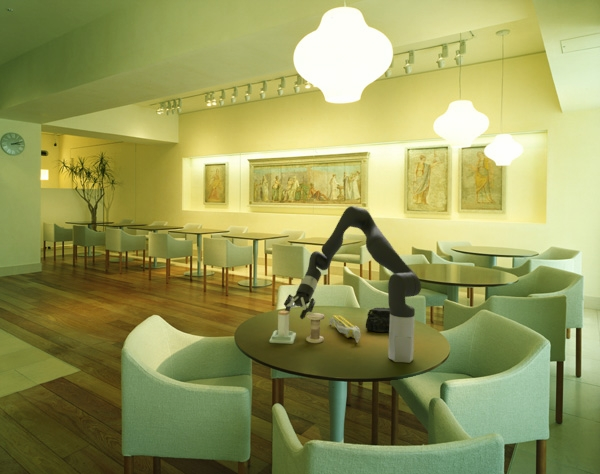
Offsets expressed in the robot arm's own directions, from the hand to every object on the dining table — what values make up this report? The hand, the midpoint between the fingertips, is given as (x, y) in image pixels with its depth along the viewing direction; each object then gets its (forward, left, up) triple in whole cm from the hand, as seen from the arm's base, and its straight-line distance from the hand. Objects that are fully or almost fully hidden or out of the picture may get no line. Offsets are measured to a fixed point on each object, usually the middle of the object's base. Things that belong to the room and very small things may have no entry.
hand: (293, 316), depth 189 cm
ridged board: (-7, +4, -8) cm, 11 cm away
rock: (+14, -43, -8) cm, 46 cm away
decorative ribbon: (+5, -24, -9) cm, 26 cm away
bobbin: (-7, -10, -8) cm, 15 cm away
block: (-7, +3, -7) cm, 11 cm away
